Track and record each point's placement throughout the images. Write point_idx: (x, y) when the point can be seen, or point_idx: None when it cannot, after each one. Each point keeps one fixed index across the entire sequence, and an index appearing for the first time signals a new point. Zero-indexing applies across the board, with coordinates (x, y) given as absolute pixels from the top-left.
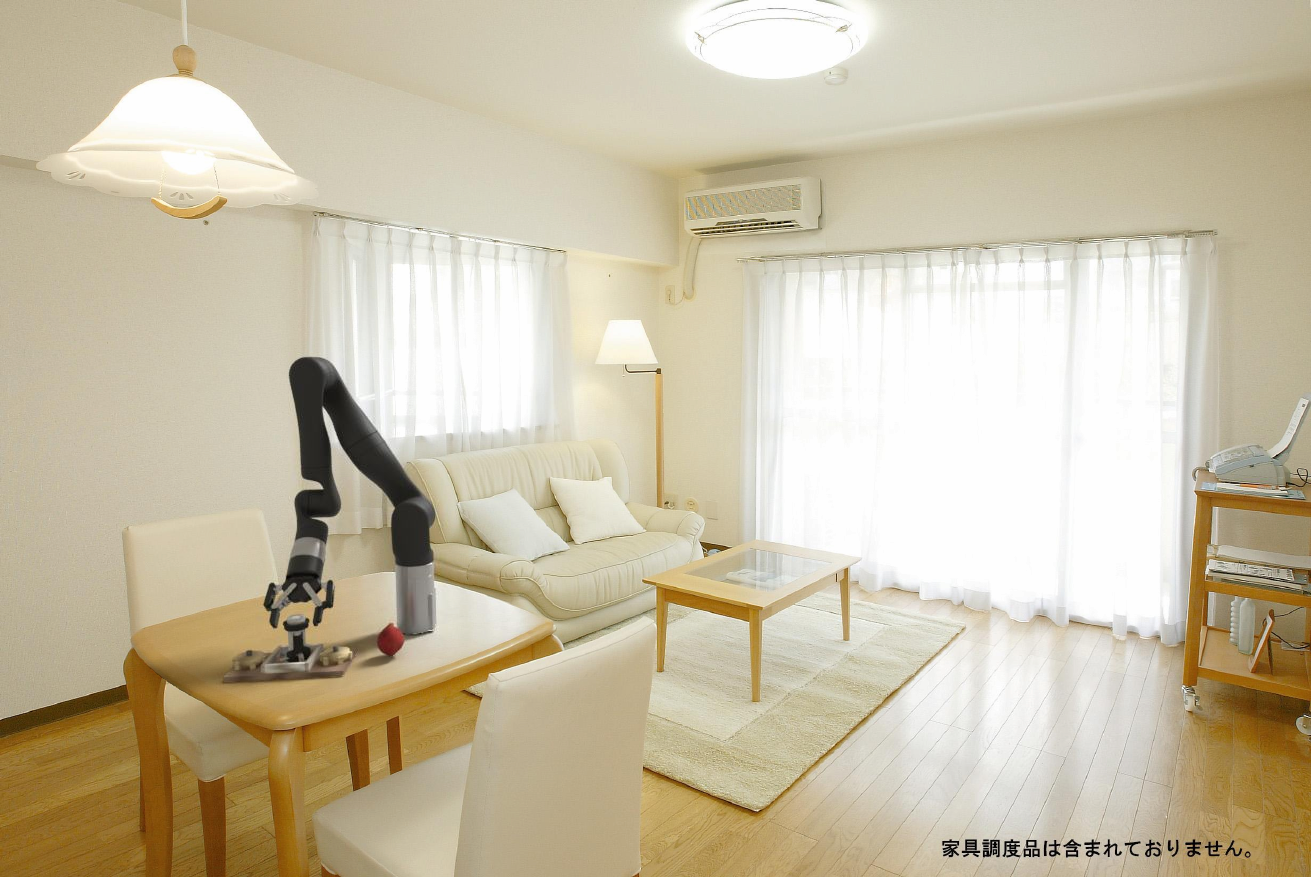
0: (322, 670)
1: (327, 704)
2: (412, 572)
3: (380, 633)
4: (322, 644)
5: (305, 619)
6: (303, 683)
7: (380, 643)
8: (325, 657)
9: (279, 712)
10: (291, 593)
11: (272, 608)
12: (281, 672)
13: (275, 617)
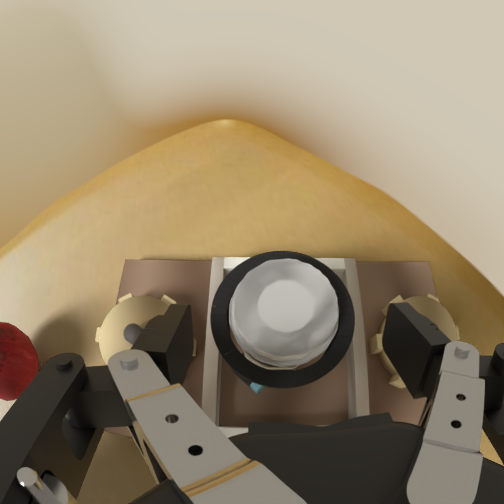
0: (178, 268)
1: (160, 150)
2: None
3: (2, 347)
4: None
5: (231, 318)
6: (223, 238)
7: (20, 334)
8: (169, 304)
9: (238, 133)
10: (414, 448)
11: (460, 342)
12: None
13: (407, 315)
